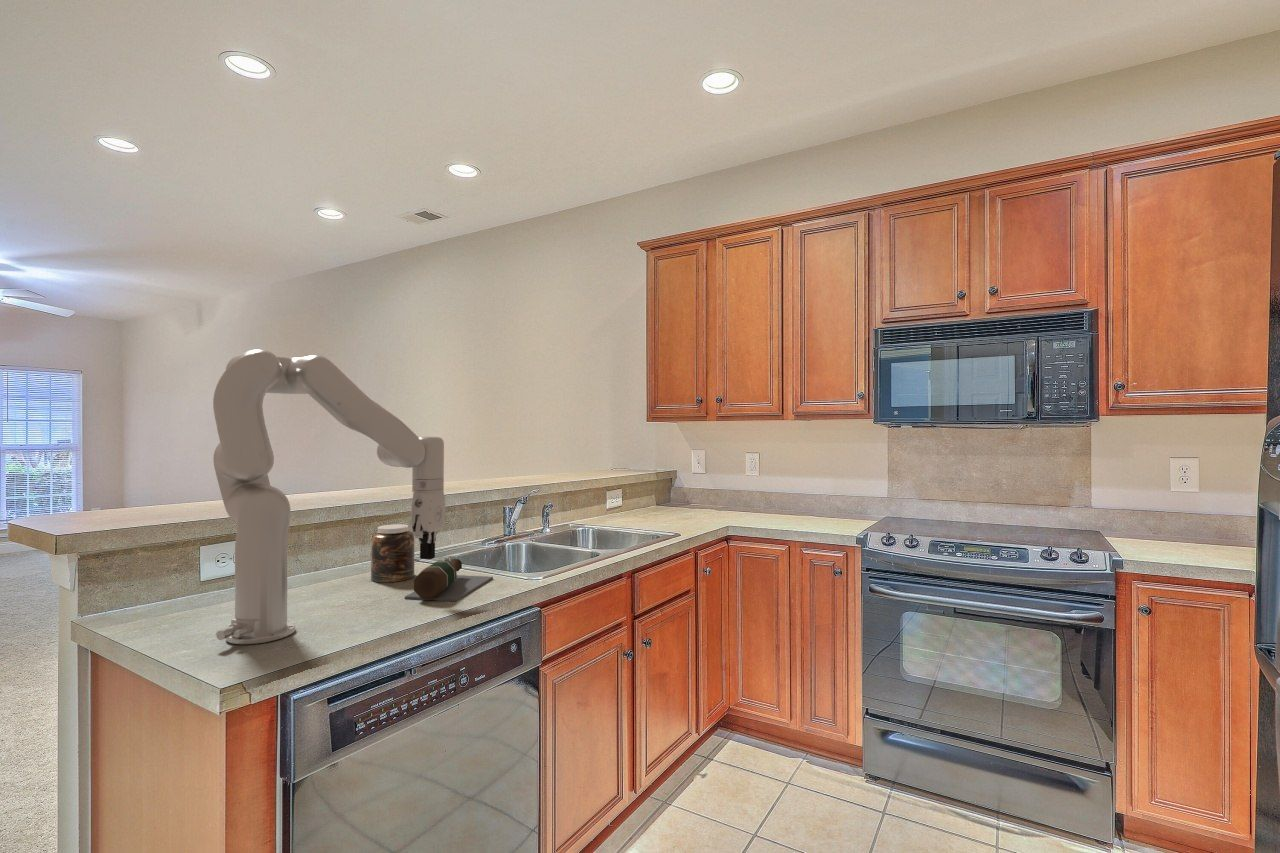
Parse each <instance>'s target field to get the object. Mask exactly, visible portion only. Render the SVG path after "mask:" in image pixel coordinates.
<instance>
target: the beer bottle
mask: <svg viewBox="0 0 1280 853" xmlns="http://www.w3.org/2000/svg"><path fill="white" fill-rule="evenodd" d="M462 565H463V562H462V561H461V560H460V559H459V558H452V559H451V560H436V561H435V562H433V563H432V564H430V565H428V566H426V567H425V568H424V569H422V570H421V572H419V573H418V574H417V575H416V577H415V576H414V577H413V592H414V591H415V592H416V593H417V594H418V595H419V596H420V597H421V598H422V599H434V598H435V597H437V596H438V595H439V594H441V593H442V592H443V591H444V590H446V589H447V588H448V587H449V586H450V585H451V584H452V583H453V582H454V581H455V580H456V579H457V575H458V574H457V573H458V572H459V571H460V570H461V569H462V567H463V566H462Z"/></svg>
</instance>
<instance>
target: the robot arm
mask: <svg viewBox="0 0 1280 853" xmlns="http://www.w3.org/2000/svg"><path fill="white" fill-rule="evenodd" d="M266 394H282V395H286V394H287V395H296V394H299V395H306V394H307V395H309V397H311V398H312V399H314V401H315V402H317V403H318V404H319V405H320V406H321V407H322V408H323V409H324V410H325V411H327V412H328V413H329V414H330V415H331V416H332V417H333V418H335V420H336V421H337V422H339V423H340V424H341V425H343V426H344V427H346V428H348V429H350V430H352V431H355V432H357V433H359V434H362V435H364V436H366V437H368V438H369V439H371V440H373V441H374V442H375V443H377V444H378V445H377V447H376V455H377V458H378V459H379V460H380V462H381V463H383V464H385V465H387V466H389V467H395V468H396V467H397V468H407V469H409V468H410V469H411V468H412V471H411V472H412V473H411V474H412V475H411V476H412V477H411V478H412V482H411V483H412V485H411V487H412V488H411V491H412V493H413V494H412V500H411V501H412V502H411V510H410V511H411V512H410V527H411V532H413V533H414V539H415V538H416V539H418V543H419V558H420V559H421V560H432V559H435V557H436V541H437V534H438V533H439V532H440V531H441V530H442V529H443V528H445V526H446V524H447V516H446V514H447V513H446V499H445V492H444V491H445V490H444V489H445V488H444V487H445V485H444V483H445V482H444V480H445V479H444V477H445V476H444V474H445V442H444V440H443V438H442V437H439V436H418V435H417V434H416V433H415V432H414V431H413V430H412V429H411V428H409V426H407V425H406V424H405V422H403V421H402V420H401V419H400V418H398V417H397V416H396V415H395V414H393V413H392V412H390V411H388V410H387V409H385V407H383V406H382V405H380V404H379V403H377V402H376V401H375V400H372V398H370V397H369V396H368V395H367V394H366V393H365V392H364V391H363V390H361V388H359V386H357V385H356V384H355V383H354V382H353V381H352V380H351V379H350V378H349V377H348V376H347V375H346V374H345V373H344V372H343V371H341V369H339V368H338V366H336V365H335V363H333V362H332V361H331V360H330V359H328V358H327V357H325V356H323V355H319V354H311V355H307V356H301V357H290V356H289V357H287V356H277V355H275V354H274V353H272V352H271V351H268V350H266V349H265V350H264V349H252V350H247V351H246V352H245V351H244V352H243V353H240V354H237V355H235V356H233V357H232V358H231V359H229V361H228V362H227V364H226V368H225V371H224V372H223V373H222V375H221V376H220V378H219V380H218V382H217V384H216V387H215V390H214V393H213V399H212V400H213V403H212V405H213V407H212V408H213V415H214V419H215V423H216V430H217V434H218V439H219V443H218V445H216V447H215V448H214V452H213V460H212V461H213V466H214V471H215V475H216V480H217V484H218V487H219V490H220V495H221V498H222V501H223V505H224V508H225V511H226V513H227V515H228V516H229V518H230V519H231V520H232V521H234V522H235V523H236V534H235V542H234V544H235V545H234V618H232V619H231V620H230V622H231V624H230V625H229V626H228V627H224V628H223V629H220V630H217V632H216V635H215V636H216V638H217V640H219V641H223V640H225V641H226V642H228V643H230V644H235V645H256V644H263V643H269V642H273V641H276V640H280V639H284V638H287V637H289V636H290V635H292V634H294V632H295V631H296V624H295V623H294V622H293V621H288V543H289V542H288V540H289V539H288V538H289V536H288V535H289V529H290V523H291V514H292V512H291V511H292V510H291V506H290V501H289V499H288V497H287V495H285V494H286V493H284V492H283V491H282V490H280V489H279V488H277V487H275V486H272V485H271V483H270V479H269V473H270V472H271V470H272V468H273V467H274V464H275V462H274V461H275V456H274V451H273V448H272V445H271V442H270V439H269V434H268V429H267V426H266V421H265V417H264V416H265V415H264V408H263V403H264V397H265V395H266Z"/></svg>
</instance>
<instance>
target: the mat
mask: <svg viewBox="0 0 1280 853" xmlns="http://www.w3.org/2000/svg"><path fill="white" fill-rule="evenodd" d="M493 579H494V577H493V576H489V575H488V576H484V575H482V576H481V575H465V574H464V575H459V574H457V579H456V580H455V581H454V582H453V583H452V584H451V585H450V586H449V587H448V588H447V589H446V590H444V591H443V592H442V593H441V594H439V595H438V596H437V597H435V598H434V599H422V598H421V597H420V596H419V595H418V594H417V593H416V592H415V591H414V590H413V591H412V592H411V593H408V594H407V595H405V596H404V600H421V601H438V602H439V601H440V602H442V601H443V602H457V601H460V600H461V599H462V598H464V597H465V596H467V595H469V594H471V593H472V592H473V591H476V590H477V589H479V588H480V587H482V586H483V585H485V584H487V583H489V582H490V581H491V580H493Z"/></svg>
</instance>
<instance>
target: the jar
mask: <svg viewBox="0 0 1280 853" xmlns="http://www.w3.org/2000/svg"><path fill="white" fill-rule="evenodd" d="M370 551H371V552H370V580H371V581H372V582H375V583H381V584H383V583H386V584H387V583H397V582H404V581H407V580H411V579H412V578H413V579H414V578H415V532H413V531H412V530H411V531H410V530H409V525H408V524H400V523H399V524H398V523H394V524H393V523H392V524H384V525H379V526H378V527H377V532H376V533H373V534H372V536H371V543H370Z"/></svg>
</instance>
